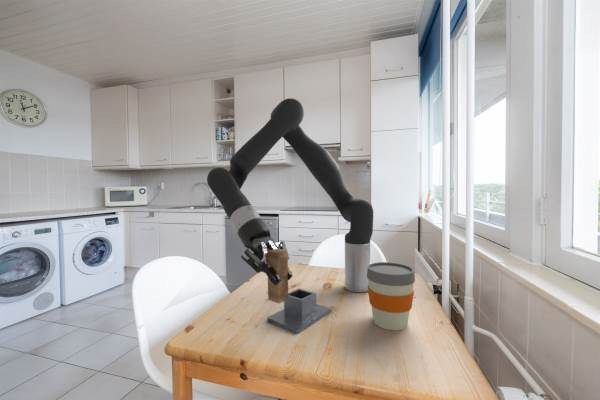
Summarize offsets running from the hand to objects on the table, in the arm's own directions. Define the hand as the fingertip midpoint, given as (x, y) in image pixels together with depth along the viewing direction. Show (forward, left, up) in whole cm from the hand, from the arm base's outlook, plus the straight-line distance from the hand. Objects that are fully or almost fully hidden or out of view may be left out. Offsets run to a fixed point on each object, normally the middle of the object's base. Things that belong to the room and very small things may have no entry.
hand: (284, 280), depth 64 cm
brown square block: (+1, -1, -5) cm, 5 cm away
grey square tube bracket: (-6, -12, -15) cm, 20 cm away
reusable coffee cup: (-30, -5, -15) cm, 34 cm away
